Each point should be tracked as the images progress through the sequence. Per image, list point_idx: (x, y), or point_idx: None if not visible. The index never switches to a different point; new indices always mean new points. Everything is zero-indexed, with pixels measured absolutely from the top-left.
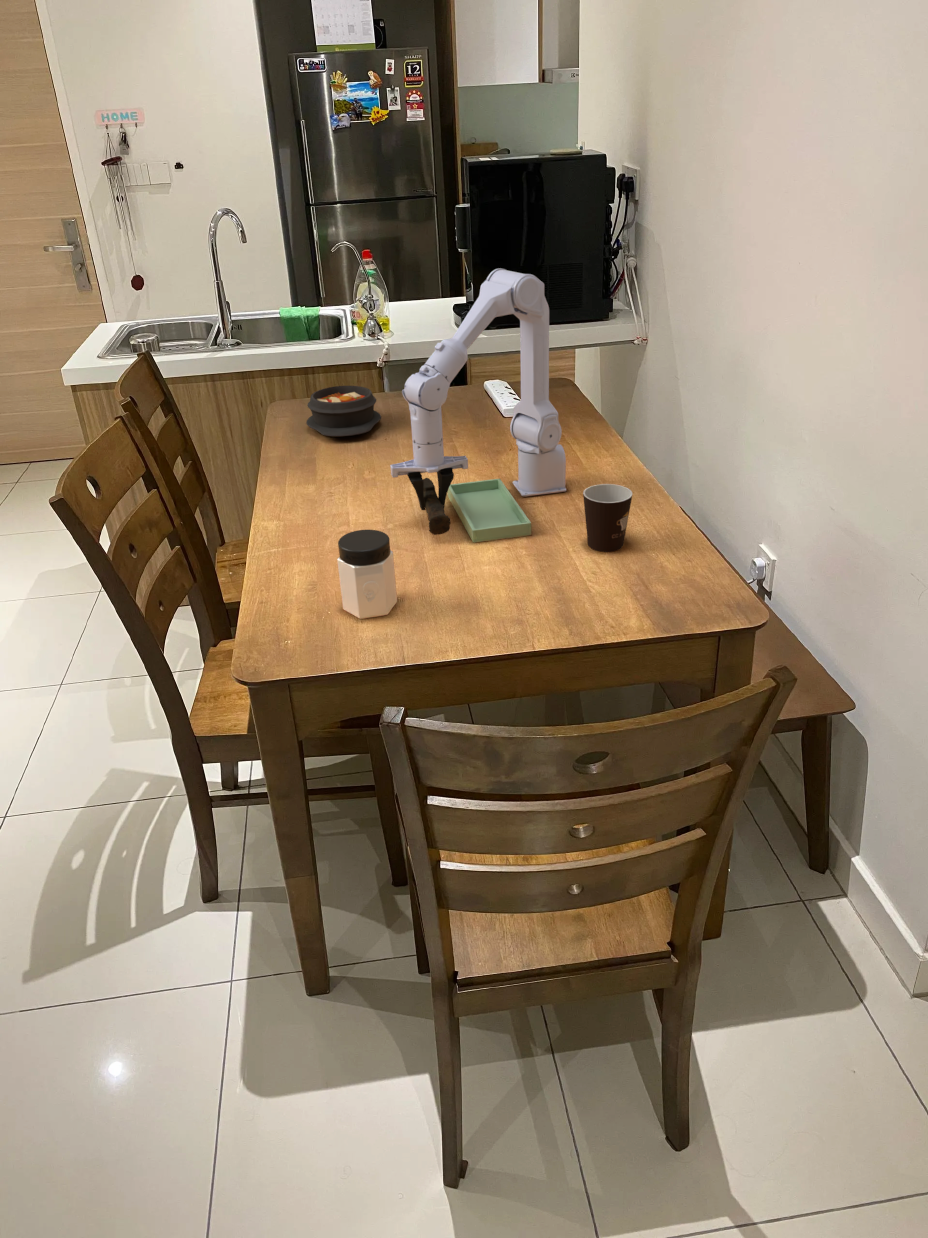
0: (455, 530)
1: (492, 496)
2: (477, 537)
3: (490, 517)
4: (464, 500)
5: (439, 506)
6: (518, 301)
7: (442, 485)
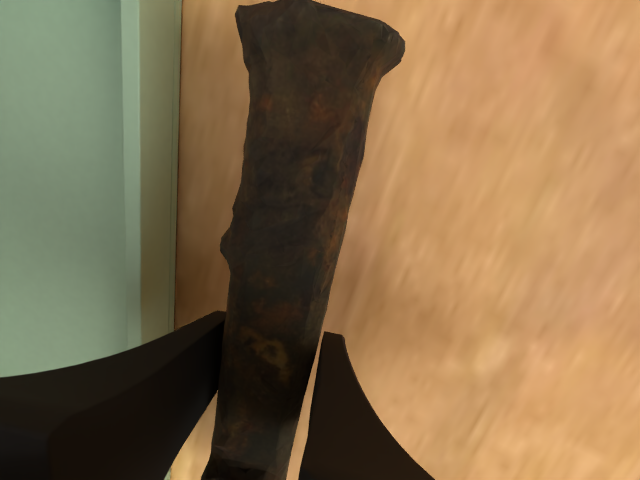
0: (227, 169)
1: None
2: None
3: (44, 207)
4: None
5: (255, 210)
6: None
7: (133, 379)
